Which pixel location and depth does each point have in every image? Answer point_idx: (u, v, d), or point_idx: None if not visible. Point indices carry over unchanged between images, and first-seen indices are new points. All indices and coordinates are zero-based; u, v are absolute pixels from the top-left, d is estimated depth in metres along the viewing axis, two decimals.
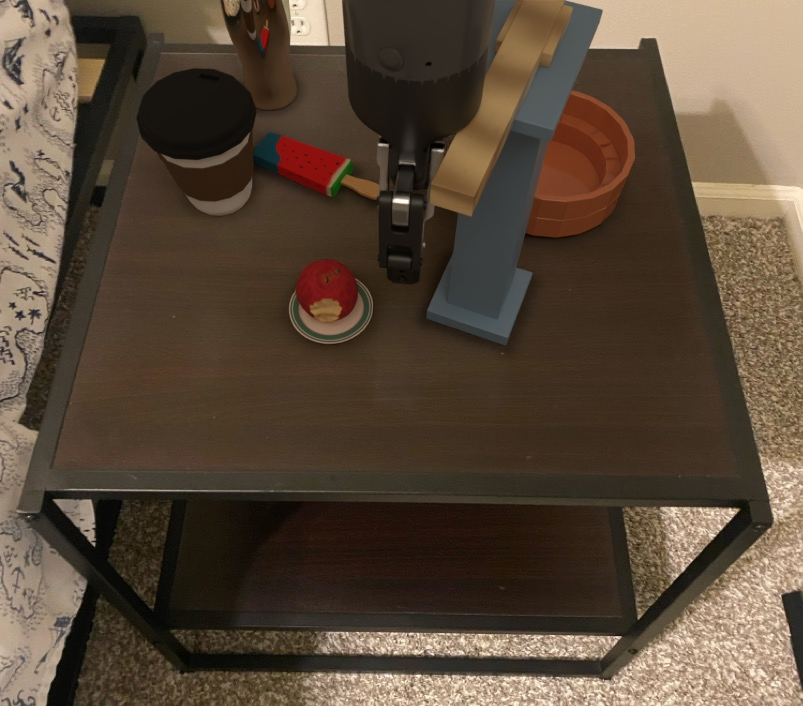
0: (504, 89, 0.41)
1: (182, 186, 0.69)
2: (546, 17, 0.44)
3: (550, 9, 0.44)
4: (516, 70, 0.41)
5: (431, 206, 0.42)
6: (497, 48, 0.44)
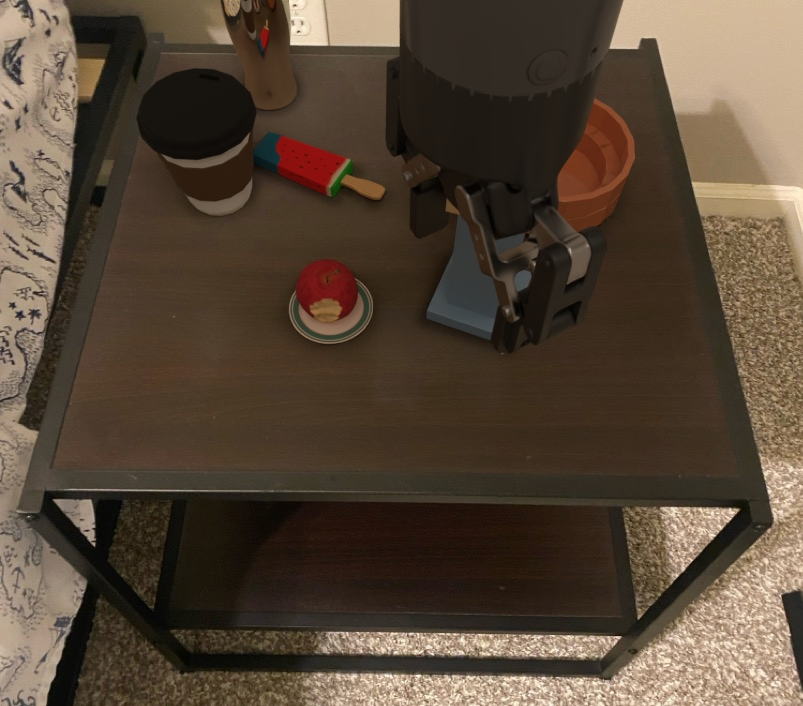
0: None
1: (182, 186, 0.69)
2: None
3: None
4: None
5: None
6: None
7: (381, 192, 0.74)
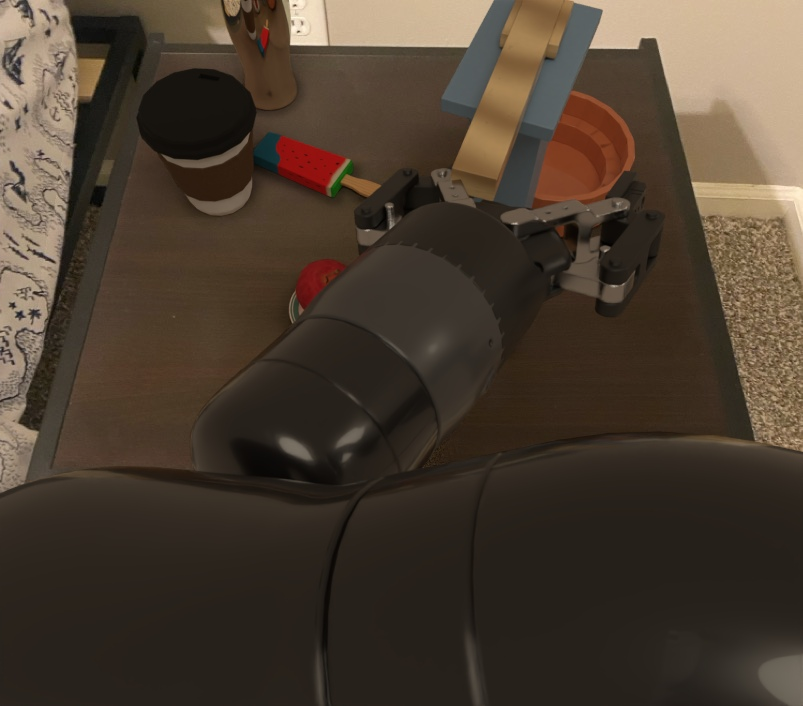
0: (515, 76, 0.40)
1: (182, 186, 0.69)
2: (550, 9, 0.44)
3: (553, 2, 0.44)
4: (526, 59, 0.41)
5: (580, 214, 0.33)
6: (502, 41, 0.44)
7: None
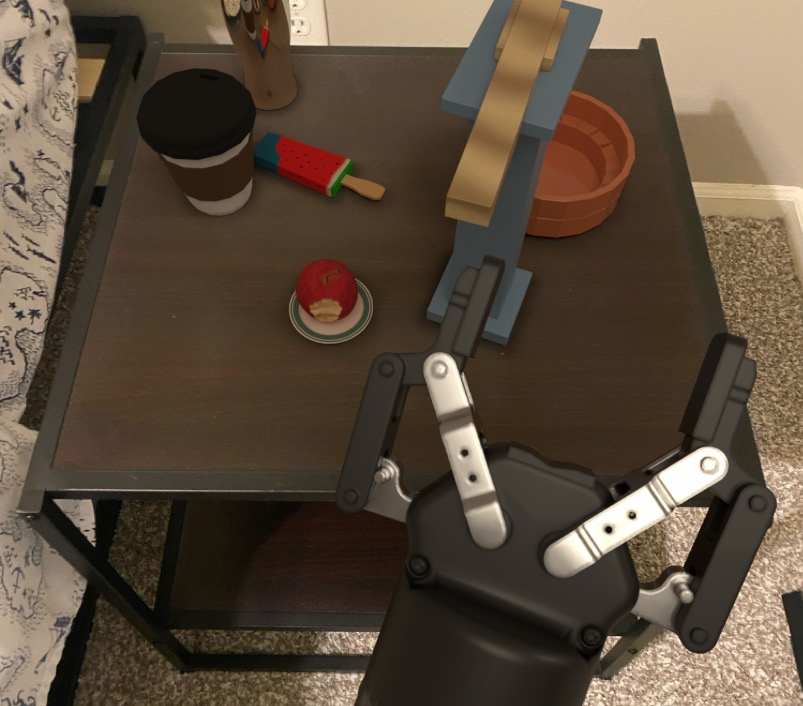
0: (510, 96, 0.40)
1: (182, 186, 0.69)
2: (544, 21, 0.44)
3: (548, 13, 0.44)
4: (520, 76, 0.41)
5: (654, 522, 0.23)
6: (497, 54, 0.44)
7: (381, 192, 0.74)
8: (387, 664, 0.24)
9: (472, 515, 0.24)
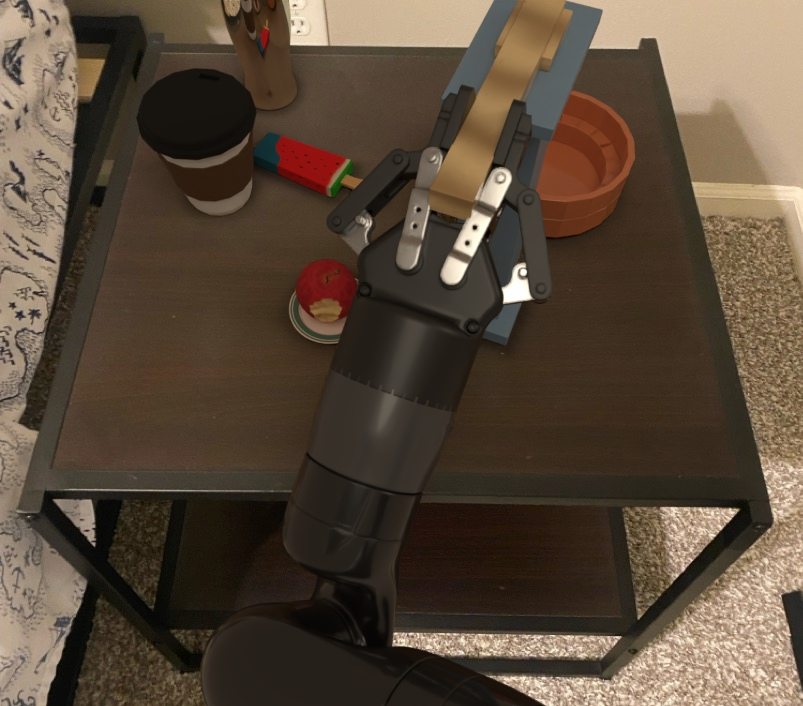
0: (503, 93, 0.40)
1: (182, 186, 0.69)
2: (546, 21, 0.44)
3: (550, 13, 0.44)
4: (515, 74, 0.41)
5: (489, 225, 0.38)
6: (497, 52, 0.44)
7: None
8: (343, 344, 0.38)
9: (402, 245, 0.38)
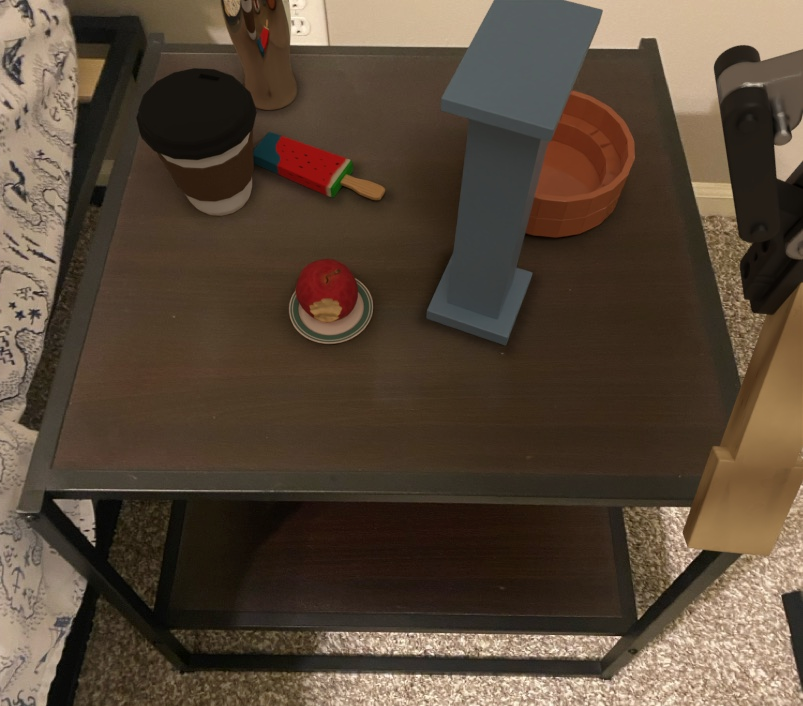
0: None
1: (182, 186, 0.69)
2: None
3: None
4: None
5: None
6: (720, 453, 0.29)
7: (381, 192, 0.74)
8: None
9: None
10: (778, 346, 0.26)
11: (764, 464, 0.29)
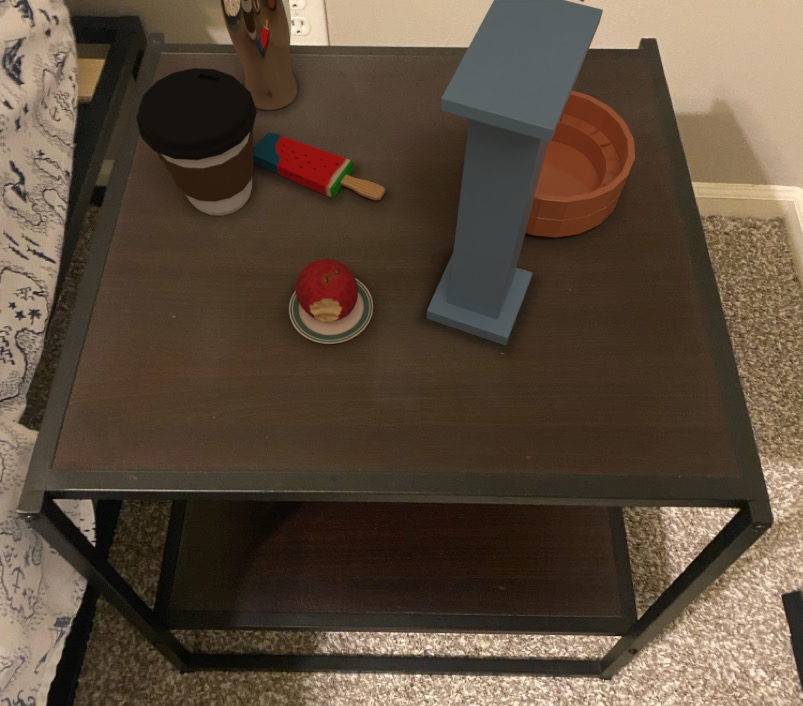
0: None
1: (182, 186, 0.69)
2: None
3: None
4: None
5: None
6: None
7: (381, 192, 0.74)
8: None
9: None
10: None
11: None
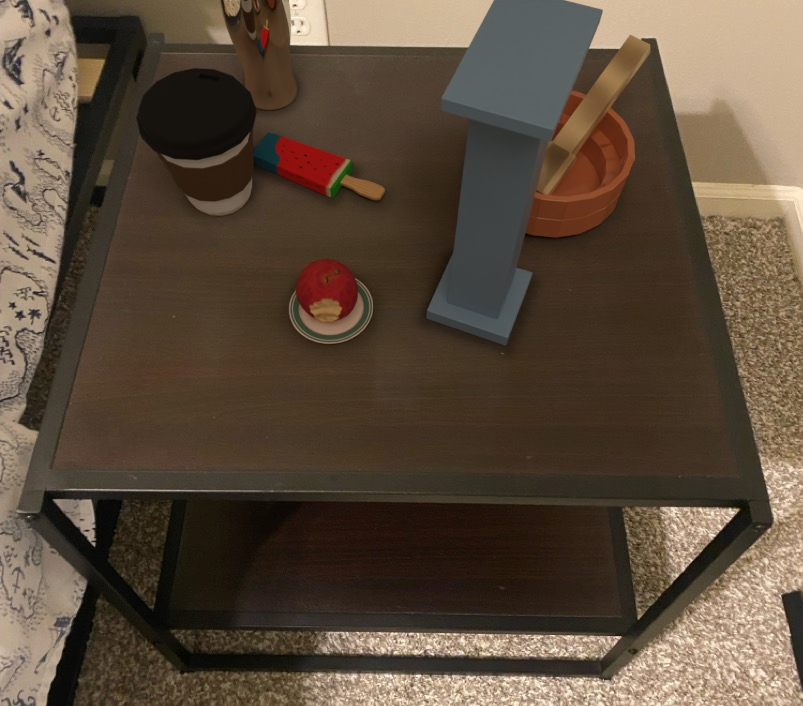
0: None
1: (182, 186, 0.69)
2: None
3: None
4: None
5: None
6: None
7: (381, 192, 0.74)
8: None
9: None
10: None
11: (561, 147, 0.73)
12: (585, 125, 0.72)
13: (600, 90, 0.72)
